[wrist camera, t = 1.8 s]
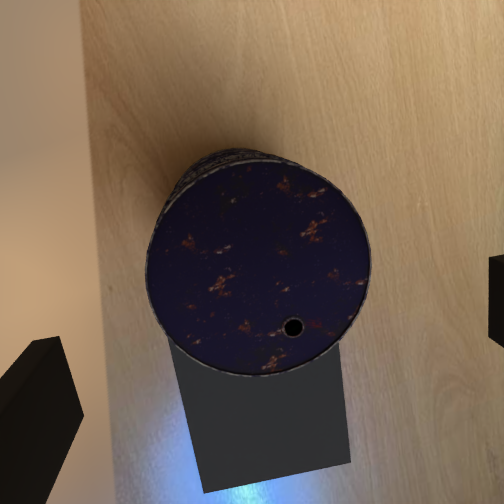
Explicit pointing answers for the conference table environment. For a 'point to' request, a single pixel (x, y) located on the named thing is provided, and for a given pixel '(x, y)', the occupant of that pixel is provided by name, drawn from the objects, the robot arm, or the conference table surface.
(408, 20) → the conference table surface
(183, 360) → the mat
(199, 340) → the rusty barrel
